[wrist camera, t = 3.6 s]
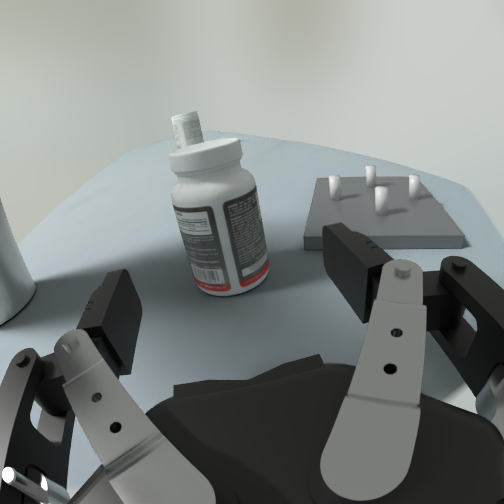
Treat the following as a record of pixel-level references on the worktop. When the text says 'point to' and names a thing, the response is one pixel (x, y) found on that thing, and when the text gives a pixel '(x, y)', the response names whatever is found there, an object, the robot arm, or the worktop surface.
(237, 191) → the pill bottle
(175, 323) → the worktop surface
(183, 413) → the robot arm
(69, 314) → the worktop surface
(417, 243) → the grey pegged board
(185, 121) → the supplement tub
